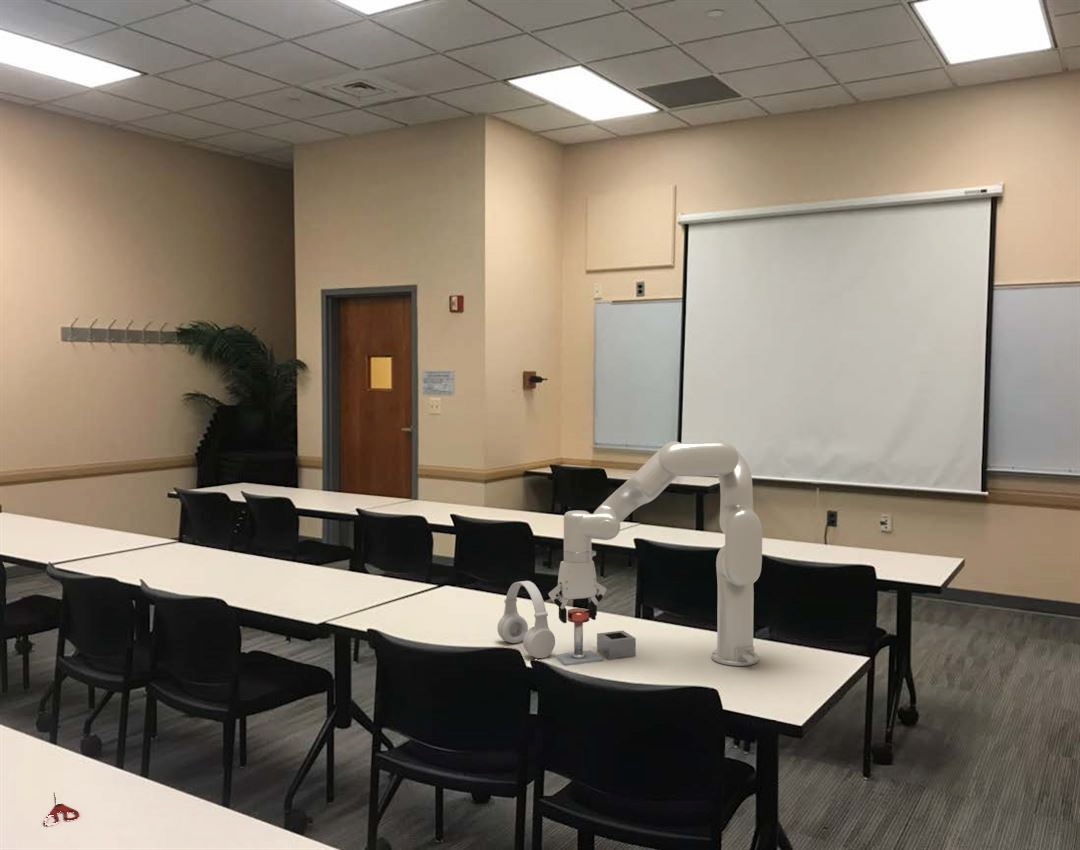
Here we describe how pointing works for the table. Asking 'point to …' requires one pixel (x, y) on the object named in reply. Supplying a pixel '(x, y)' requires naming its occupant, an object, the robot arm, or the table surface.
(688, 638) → the table surface
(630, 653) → the eye block
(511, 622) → the headphones
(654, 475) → the robot arm
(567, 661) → the pad
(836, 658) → the table surface
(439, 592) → the table surface
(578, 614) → the red capped metal cylinder
